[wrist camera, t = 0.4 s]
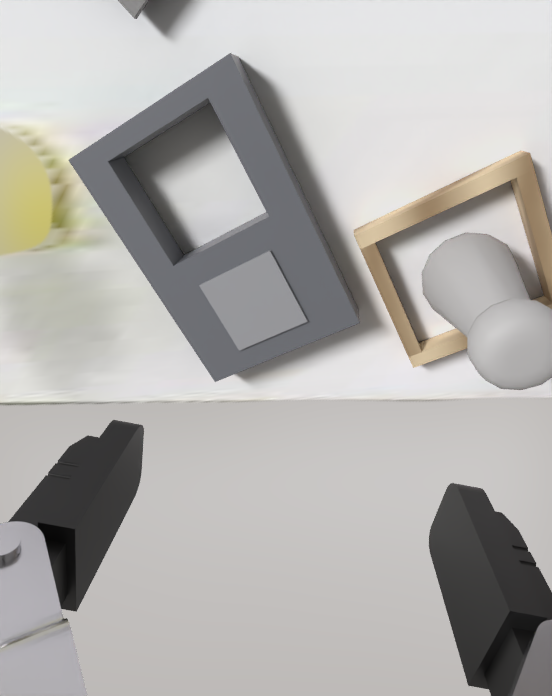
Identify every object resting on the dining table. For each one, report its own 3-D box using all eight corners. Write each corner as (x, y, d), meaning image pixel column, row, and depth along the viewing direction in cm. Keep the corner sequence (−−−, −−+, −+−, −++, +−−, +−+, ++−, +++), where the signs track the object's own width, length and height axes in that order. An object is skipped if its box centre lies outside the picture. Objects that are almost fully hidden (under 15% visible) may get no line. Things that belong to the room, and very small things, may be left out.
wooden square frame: (520, 150, 28) (529, 153, 27) (562, 301, 32) (572, 310, 31) (353, 230, 32) (354, 235, 30) (410, 357, 36) (413, 367, 34)
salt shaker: (494, 210, 30) (591, 278, 19) (511, 287, 32) (608, 390, 21) (405, 244, 32) (445, 325, 20) (428, 315, 34) (475, 424, 23)
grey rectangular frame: (238, 56, 28) (229, 52, 25) (358, 308, 34) (359, 324, 32) (87, 155, 31) (66, 160, 29) (221, 365, 38) (214, 383, 36)
